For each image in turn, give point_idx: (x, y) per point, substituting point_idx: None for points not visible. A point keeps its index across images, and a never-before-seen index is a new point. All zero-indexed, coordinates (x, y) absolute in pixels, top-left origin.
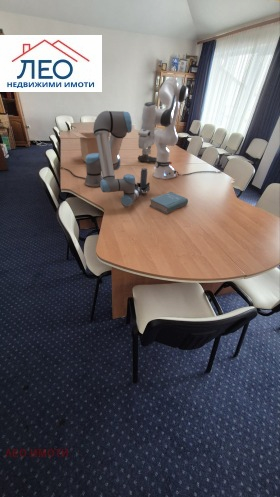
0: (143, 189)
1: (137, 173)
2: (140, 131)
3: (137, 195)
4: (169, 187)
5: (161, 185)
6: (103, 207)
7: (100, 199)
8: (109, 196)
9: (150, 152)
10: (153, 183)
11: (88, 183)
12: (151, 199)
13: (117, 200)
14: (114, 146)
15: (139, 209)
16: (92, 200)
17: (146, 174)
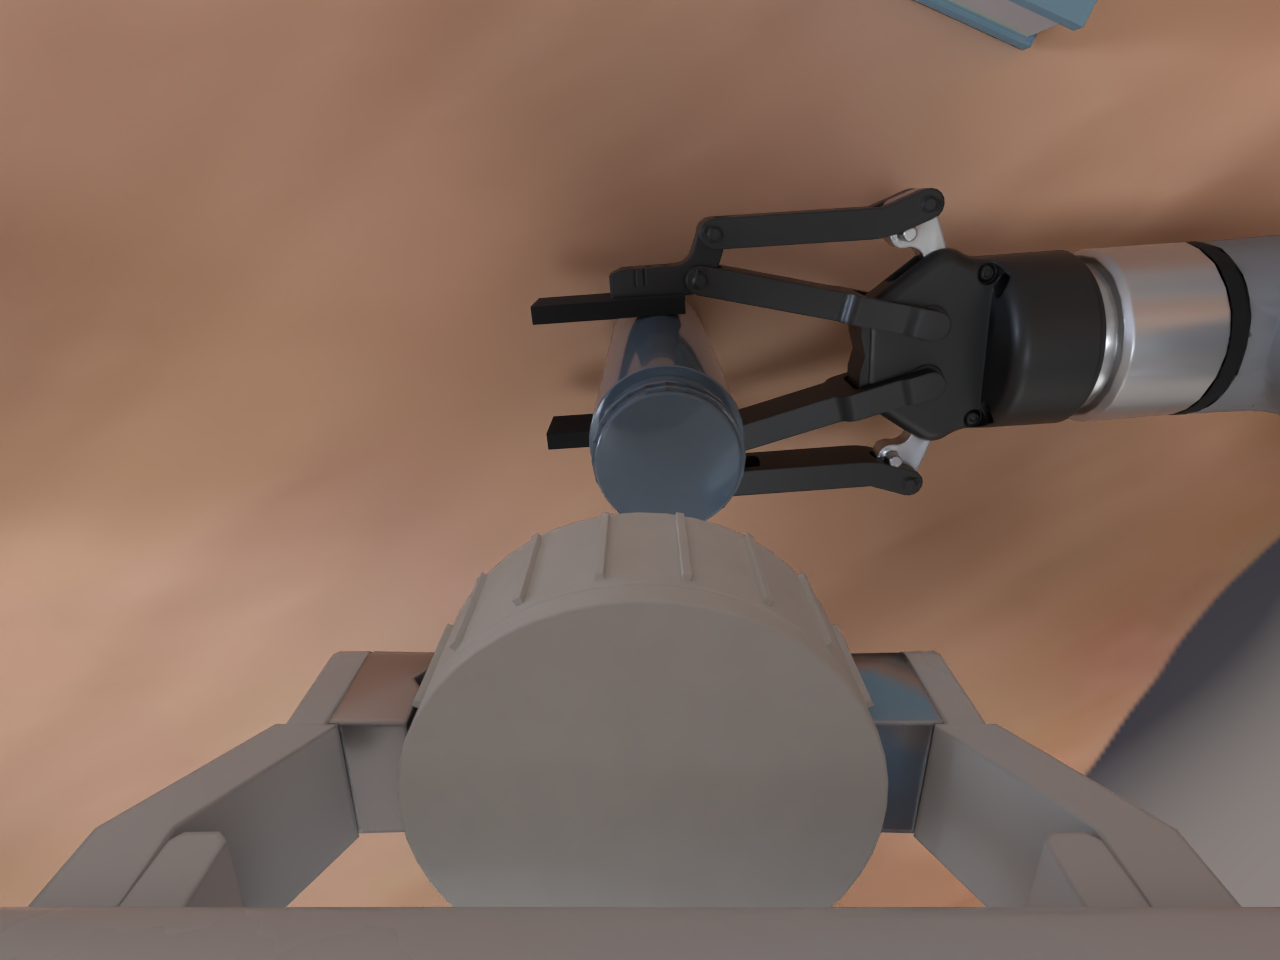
0: (823, 286)
1: (14, 713)
2: None
3: (1163, 247)
4: (113, 49)
5: (144, 218)
6: (1256, 552)
7: (1061, 674)
8: (941, 639)
9: (606, 542)
10: (171, 368)
11: None
12: (1087, 3)
13: (1013, 516)
14: None
15: (1183, 144)
16: (1117, 722)
17: (688, 357)
